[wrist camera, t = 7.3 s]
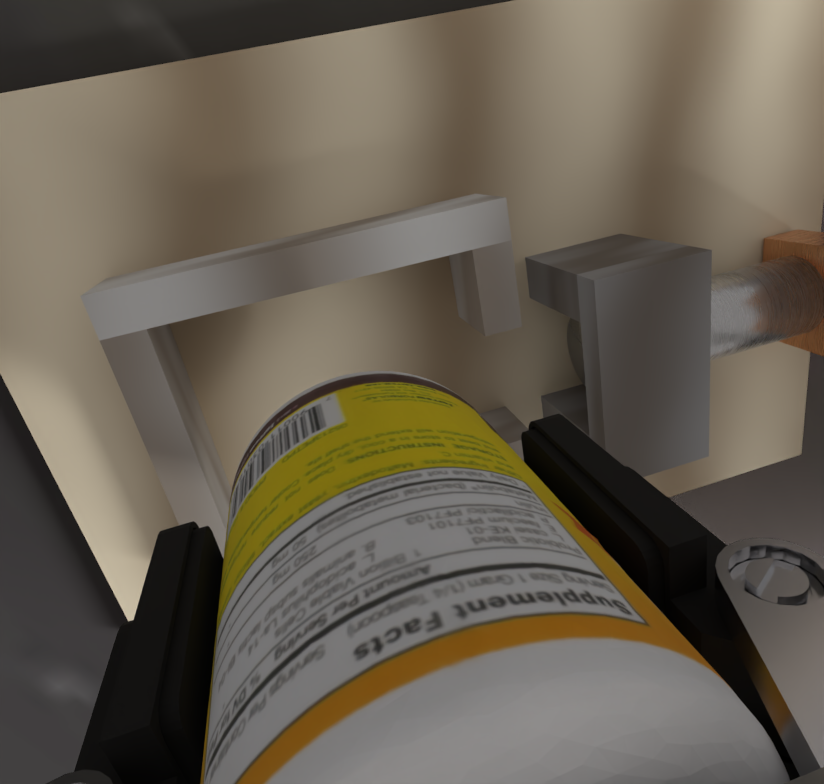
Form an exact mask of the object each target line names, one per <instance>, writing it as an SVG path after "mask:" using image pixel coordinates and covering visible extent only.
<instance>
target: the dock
mask: <svg viewBox="0 0 824 784" xmlns="http://www.w3.org/2000/svg"><path fill="white" fill-rule="evenodd" d="M823 201H824V0H513V1H508V2H502V3H497V4H491V5H486V6H480V7H475V8H469V9H464V10H458V11H453V12H447V13H441V14H436V15H430V16H425V17H419V18H414V19H408V20H403V21H397V22H392V23H386V24H381V25H375V26H370V27H364V28H359V29H353V30H348V31H342V32H337V33H331V34H325V35H320V36H314V37H309V38H303V39H298V40H292V41H287V42H281V43H276V44H270V45H265V46H259V47H254V48H248V49H243V50H237V51H232V52H226V53H221V54H215V55H210V56H204V57H198V58H193V59H187V60H182V61H176V62H171V63H165V64H160V65H154V66H149V67H143V68H138V69H132V70H127V71H121V72H116V73H110V74H105V75H99V76H94V77H88V78H83V79H77V80H71V81H66V82H60V83H55V84H49V85H44V86H38V87H33V88H27V89H22V90H16V91H11V92H5V93H0V374H1V376H2V378H3V380H4V382H5V384H6V386H7V388H8V390H9V392H10V393H11V395H12V397H13V399H14V401H15V403H16V405H17V407H18V409H19V411H20V413H21V415H22V417H23V419H24V421H25V422H26V424H27V426H28V428H29V430H30V432H31V434H32V436H33V438H34V440H35V442H36V444H37V446H38V448H39V450H40V451H41V453H42V455H43V457H44V459H45V461H46V463H47V465H48V467H49V469H50V471H51V473H52V475H53V477H54V479H55V481H56V482H57V484H58V486H59V488H60V490H61V492H62V494H63V496H64V498H65V500H66V502H67V504H68V506H69V508H70V510H71V511H72V513H73V515H74V517H75V519H76V521H77V523H78V525H79V527H80V529H81V531H82V533H83V535H84V537H85V539H86V540H87V542H88V544H89V546H90V548H91V550H92V552H93V554H94V556H95V558H96V560H97V562H98V564H99V566H100V568H101V569H102V571H103V573H104V575H105V577H106V579H107V581H108V583H109V585H110V587H111V589H112V591H113V593H114V595H115V597H116V598H117V600H118V602H119V604H120V606H121V608H122V610H123V612H124V614H125V616H126V618H127V620H128V621H132V620H134V616H135V613H136V609H137V606H138V602H139V599H140V596H141V592H142V589H143V585H144V582H145V578H146V575H147V571H148V568H149V564H150V561H151V557H152V554H153V550H154V547H155V543H156V540H157V536H158V534H159V532H160V531H162V530H165V529H169V528H172V527H175V526H179V525H182V524H185V523H189V522H192V521H194V522H196V523H197V525H198V526H199V528H201V527H205V526H209V527H210V528H211V530H212V532H213V534H214V537H215V539H216V542H217V544H218V547H219V549H220V552H221V554H222V557H223V559H224V550H225V541H226V531H227V522H228V513H229V504H230V498H231V492H232V486H233V482H234V479H235V475H236V472H237V469H238V466H239V463H240V461H241V458H242V456H243V454H244V452H245V450H246V448H247V447H248V445H249V443H250V441H251V440H252V438H253V437H254V435H255V434H256V433H257V431H258V430H259V429H260V427H261V426H262V425H263V424H264V423H265V421H266V420H267V419H268V418H269V417H270V416H271V415H272V414H273V413H274V412H276V411H277V410H278V409H279V408H280V407H281V406H282V405H284V404H285V403H286V402H288V401H289V400H291V399H292V398H293V397H295V396H297V395H298V394H300V393H301V392H303V391H305V390H307V389H309V388H311V387H313V386H315V385H317V384H319V383H322V382H324V381H327V380H329V379H333V378H336V377H339V376H343V375H347V374H352V373H358V372H367V371H394V372H402V373H408V374H412V375H416V376H420V377H423V378H426V379H429V380H431V381H434V382H436V383H438V384H440V385H442V386H444V387H446V388H448V389H450V390H451V391H453V392H454V393H456V394H458V395H459V396H460V397H462V398H463V399H464V400H465V401H466V402H468V403H469V404H470V405H471V406H473V407H474V408H475V409H476V410H477V411H478V412H479V413H480V414H481V415H482V416H483V418H484V419H485V420H486V421H487V422H488V423H489V424H490V425H491V426H492V427H493V428H494V429H495V430H496V432H497V433H498V434H499V435H500V436H501V437H502V438H503V439H504V440H505V441H506V443H507V444H508V445H509V446H510V447H511V448H512V449H513V450H514V451H515V453H516V454H517V455H518V456H519V457H520V458H521V459H522V460H523V461H524V456H523V449H522V441H521V434H522V432H524V431H528V428H529V423H530V422H531V421H534V420H538V419H541V418H545V417H548V416H551V415H555V414H561V415H563V416H564V417H565V418H566V419H568V420H569V421H570V422H571V423H572V424H574V425H575V426H576V427H577V428H578V429H580V430H581V431H582V432H583V433H585V434H586V435H587V436H588V437H589V438H591V439H592V440H593V441H594V442H595V443H597V444H598V445H599V446H600V447H602V448H603V449H604V450H605V451H606V452H608V453H609V454H610V455H611V456H613V457H614V458H615V459H616V460H617V461H619V462H620V463H621V464H622V465H623V466H628V467H630V468H631V469H633V470H635V471H636V472H637V473H638V474H639V475H641V476H642V477H643V478H644V479H646V480H647V481H648V482H649V483H651V484H652V485H653V486H654V487H656V488H657V489H658V490H659V491H660V492H662V493H663V494H664V495H665V496H667V497H668V498H669V497H672V496H675V495H678V494H681V493H684V492H687V491H690V490H693V489H696V488H699V487H702V486H706V485H709V484H712V483H715V482H718V481H721V480H724V479H727V478H730V477H733V476H736V475H739V474H743V473H746V472H749V471H752V470H755V469H758V468H761V467H764V466H767V465H770V464H773V463H776V462H780V461H783V460H786V459H789V458H792V457H795V456H798V455H801V452H802V441H803V430H804V418H805V407H806V395H807V384H808V373H809V361H810V352H809V351H806V350H803V349H800V348H797V347H794V346H791V345H788V344H785V343H782V342H779V341H777V342H774V343H770V344H767V345H763V346H760V347H756V348H753V349H749V350H746V351H743V352H739V353H736V354H732V355H729V356H725V357H722V358H718V359H715V360H712V361H710V345H711V276H713V275H717V274H721V273H724V272H728V271H732V270H736V269H739V268H743V267H747V266H751V265H754V264H758V263H762V262H763V246H764V238H766V237H770V236H774V235H778V234H781V233H785V232H789V231H793V230H797V229H798V230H807V231H816V232H821V224H822V213H823ZM570 318H572V319H574V320H576V321H578V322H580V323H581V335H582V347H583V360H584V372H585V385H586V386H585V385H584V384H583V383H582V382H581V380H580V379H579V377H578V375H577V373H576V371H575V369H574V367H573V364H572V361H571V358H570V354H569V350H568V343H567V328H568V323H569V320H570Z"/></svg>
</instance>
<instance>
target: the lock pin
mask: <svg viewBox="0 0 824 784" xmlns="http://www.w3.org/2000/svg"><path fill="white" fill-rule="evenodd" d="M777 341H779V342H782V343H785V344H788V345H791V346H794V347H797V348H800V349H803V350H806V351H809V352H812V353H815V354H818V355H821V356H824V232H816V231H807V230H798V229H797V230H793V231H789V232H785V233H781V234H778V235H774V236H770V237H766V238H764V246H763V262H762V263H758V264H754V265H751V266H747V267H743V268H739V269H736V270H732V271H728V272H724V273H721V274H717V275H713V276H711V345H710V361H712V360H715V359H718V358H722V357H725V356H729V355H732V354H736V353H739V352H743V351H746V350H749V349H753V348H756V347H760V346H763V345H767V344H770V343H774V342H777ZM567 343H568V350H569V354H570V358H571V361H572V364H573V367H574V369H575V371H576V373H577V375H578V377H579V379H580V380H581V382H582V383H583V384H584V385H585V372H584V360H583V347H582V335H581V323H580V322H578V321H576V320H574V319H572V318H570V320H569V323H568V328H567ZM585 386H586V385H585Z"/></svg>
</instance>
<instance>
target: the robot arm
mask: <svg viewBox="0 0 824 784" xmlns="http://www.w3.org/2000/svg"><path fill="white" fill-rule="evenodd" d="M521 441H522V449H523V456H524V462H525V463H526V465H527V466H528V467H529V468H530V469H531V470H532V471H533V472H534V473H535V474H536V475H537V476H538V477H539V478H540V480H541V481H542V482H543V483H544V484H545V485H546V486H547V487H548V488H549V489H550V491H551V492H552V493H553V494H554V495H555V496H556V497H557V498H558V499H559V501H560V502H561V503H562V504H563V505H564V506H565V507H566V508H567V509H568V510H569V511H570V512H571V513H572V515H573V516H574V517H575V518H576V519H577V520H578V521H579V522H580V523H581V525H582V526H583V527H584V528H585V529H586V530H587V531H588V532H589V533H590V534H591V535H593V536H594V537H595V538H597V539H598V541H599V543H600V544H601V546H602V547H603V548H604V550H605V551H606V552H607V553H608V554H609V555H610V556H611V557H612V558H613V559H614V560H615V561H616V562H617V563H618V564H619V565H620V567H621V568H622V569H623V570H624V571H625V573H626V574H627V575H628V576H629V577H630V578H631V580H632V581H633V582H634V583H635V584H636V585H637V586H638V587H639V588H640V589H641V590H642V591H643V592H644V593H645V595H646V596H647V597H648V598H649V599H650V600H651V601H652V602H653V603H654V604H655V605H656V606H657V608H658V609H659V610H660V611H661V612H662V613H663V614H664V615H665V616H666V618H667V619H668V620H669V621H670V622H671V623H672V624H673V625H674V626H675V627H676V629H677V630H678V631H679V632H680V633H681V634H682V635H683V636H684V637H685V638H686V639H687V640H688V642H689V643H690V644H691V645H692V646H693V647H694V648H695V649H696V650H697V651H698V652H699V654H700V655H701V656H702V657H703V658H704V659H705V660H706V661H707V662H708V663H709V664H710V665H711V667H712V668H713V669H714V670H715V671H716V672H717V673H718V674H719V675H720V676H721V677H722V679H723V680H724V681H725V682H726V683H727V684H728V685H729V686H730V688H731V689H732V690H733V691H734V693H735V694H736V695H737V696H738V698H739V699H740V700H741V701H742V702H743V704H744V705H745V706H746V707H747V708H748V709H749V711H750V712H751V713H752V714H753V715H754V717H755V718H756V719H757V720H758V721H759V723H760V724H761V725H762V726H763V728H764V729H765V731H766V733H767V734H768V736H769V737H770V739H771V740H772V742H773V744H774V746H775V748H776V750H777V752H778V754H779V756H780V758H781V760H782V762H783V764H784V766H785V768H786V771H787V773H788V775H789V779H790V781H789V782H786V783H784V784H824V557H823V556H821V555H819V554H817V553H816V552H814V551H812V550H810V549H809V548H806V547H803V546H801V545H798V544H795V543H792V542H789V541H784V540H778V539H773V538H750V539H745V540H740V541H736V542H734V543H732V544H730V545H728V546H727V545H726V544H724V543H723V542H722V541H721V540H720V539H718V538H717V537H716V536H715V535H713V534H712V533H711V532H710V531H708V530H707V529H706V528H705V527H704V526H702V525H701V524H700V523H699V522H697V521H696V520H695V519H694V518H692V517H691V516H690V515H689V514H688V513H686V512H685V511H684V510H683V509H681V508H680V507H679V506H678V505H676V504H675V503H674V502H673V501H672V500H670V499H669V498H668V497H667V496H665V495H664V494H663V493H662V492H660V491H659V490H658V489H657V488H656V487H654V486H653V485H652V484H651V483H649V482H648V481H647V480H646V479H644V478H643V477H642V476H641V475H639V474H638V473H637V472H636V471H635V470H633V469H631V468H630V467H628V466H623V465H622V464H621V463H620V462H619V461H617V460H616V459H615V458H614V457H613V456H611V455H610V454H609V453H608V452H606V451H605V450H604V449H603V448H602V447H600V446H599V445H598V444H597V443H595V442H594V441H593V440H592V439H591V438H589V437H588V436H587V435H586V434H585V433H583V432H582V431H581V430H580V429H578V428H577V427H576V426H575V425H574V424H572V423H571V422H570V421H569V420H568V419H566V418H565V417H564V416H563V415H561V414H555V415H551V416H548V417H545V418H541V419H538V420H534V421H531V422H530V423H529V428H528V431H524V432H522V434H521ZM223 560H224V559H223V557H222V554H221V552H220V549H219V547H218V544H217V542H216V539H215V537H214V534H213V532H212V530H211V528H210V527H209V526H205V527H201V528H199V526H198V525H197V523H196V522H194V521H192V522H189V523H185V524H182V525H179V526H175V527H172V528H169V529H165V530H162V531H160V532H159V534H158V536H157V540H156V543H155V547H154V550H153V554H152V557H151V561H150V564H149V568H148V571H147V575H146V578H145V582H144V585H143V589H142V592H141V596H140V599H139V602H138V606H137V609H136V613H135V616H134V620H132V621H128V622H125V623H124V624H123V625H122V626H121V627H120V629H119V631H118V633H117V636H116V640H115V643H114V646H113V649H112V652H111V655H110V659H109V662H108V665H107V668H106V671H105V675H104V678H103V681H102V684H101V687H100V691H99V694H98V697H97V700H96V703H95V707H94V710H93V713H92V716H91V719H90V723H89V726H88V729H87V732H86V735H85V739H84V742H83V745H82V748H81V751H80V755H79V758H78V761H77V764H76V767H75V771H74V772H72V773H67V774H64V775H62V776H60V777H58V778H56V779H54V780H52V781H50V782H48V783H46V784H200V782H201V772H202V762H203V752H204V742H205V732H206V723H207V713H208V704H209V695H210V687H211V678H212V667H213V656H214V645H215V637H216V629H217V615H218V608H219V598H220V588H221V579H222V569H223Z"/></svg>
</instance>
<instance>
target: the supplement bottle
mask: <svg viewBox="0 0 824 784" xmlns="http://www.w3.org/2000/svg"><path fill="white" fill-rule="evenodd" d="M789 781H790V779H789V775H788V773H787V771H786V768H785V766H784V764H783V762H782V760H781V758H780V756H779V754H778V752H777V750H776V748H775V746H774V744H773V742H772V740H771V739H770V737H769V736H768V734H767V733H766V731H765V729H764V728H763V726H762V725H761V724H760V723H759V721H758V720H757V719H756V718H755V717H754V715H753V714H752V713H751V712H750V711H749V709H748V708H747V707H746V706H745V705H744V704H743V702H742V701H741V700H740V699H739V698H738V696H737V695H736V694H735V693H734V691H733V690H732V689H731V688H730V686H729V685H728V684H727V683H726V682H725V681H724V680H723V679H722V677H721V676H720V675H719V674H718V673H717V672H716V671H715V670H714V669H713V668H712V667H711V665H710V664H709V663H708V662H707V661H706V660H705V659H704V658H703V657H702V656H701V655H700V654H699V652H698V651H697V650H696V649H695V648H694V647H693V646H692V645H691V644H690V643H689V642H688V640H687V639H686V638H685V637H684V636H683V635H682V634H681V633H680V632H679V631H678V630H677V629H676V627H675V626H674V625H673V624H672V623H671V622H670V621H669V620H668V619H667V618H666V616H665V615H664V614H663V613H662V612H661V611H660V610H659V609H658V608H657V606H656V605H655V604H654V603H653V602H652V601H651V600H650V599H649V598H648V597H647V596H646V595H645V593H644V592H643V591H642V590H641V589H640V588H639V587H638V586H637V585H636V584H635V583H634V582H633V581H632V580H631V578H630V577H629V576H628V575H627V574H626V573H625V571H624V570H623V569H622V568H621V567H620V565H619V564H618V563H617V562H616V561H615V560H614V559H613V558H612V557H611V556H610V555H609V554H608V553H607V552H606V551H605V550H604V548H603V547H602V546H601V544H600V543H599V541H598V539H597V538H595V537H594V536H593V535H591V534H590V533H589V532H588V531H587V530H586V529H585V528H584V527H583V526H582V525H581V523H580V522H579V521H578V520H577V519H576V518H575V517H574V516H573V515H572V513H571V512H570V511H569V510H568V509H567V508H566V507H565V506H564V505H563V504H562V503H561V502H560V501H559V499H558V498H557V497H556V496H555V495H554V494H553V493H552V492H551V491H550V489H549V488H548V487H547V486H546V485H545V484H544V483H543V482H542V481H541V480H540V478H539V477H538V476H537V475H536V474H535V473H534V472H533V471H532V470H531V469H530V468H529V467H528V466H527V465H526V463H525V462H524V461H523V460H522V459H521V458H520V457H519V456H518V455H517V454H516V453H515V451H514V450H513V449H512V448H511V447H510V446H509V445H508V444H507V443H506V441H505V440H504V439H503V438H502V437H501V436H500V435H499V434H498V433H497V432H496V430H495V429H494V428H493V427H492V426H491V425H490V424H489V423H488V422H487V421H486V420H485V419H484V418H483V416H482V415H481V414H480V413H479V412H478V411H477V410H476V409H475V408H474V407H473V406H471V405H470V404H469V403H468V402H466V401H465V400H464V399H463V398H462V397H460V396H459V395H458V394H456V393H454V392H453V391H451V390H450V389H448V388H446V387H444V386H442V385H440V384H438V383H436V382H434V381H431V380H429V379H426V378H423V377H420V376H416V375H412V374H408V373H402V372H394V371H367V372H358V373H352V374H347V375H343V376H339V377H336V378H333V379H329V380H327V381H324V382H322V383H319V384H317V385H315V386H313V387H311V388H309V389H307V390H305V391H303V392H301V393H300V394H298V395H297V396H295V397H293V398H292V399H291V400H289V401H288V402H286V403H285V404H284V405H282V406H281V407H280V408H279V409H278V410H277V411H276V412H274V413H273V414H272V415H271V416H270V417H269V418H268V419H267V420H266V421H265V423H264V424H263V425H262V426H261V427H260V429H259V430H258V431H257V433H256V434H255V435H254V437H253V438H252V440H251V441H250V443H249V445H248V447H247V448H246V450H245V452H244V454H243V456H242V458H241V461H240V463H239V466H238V469H237V472H236V475H235V479H234V482H233V486H232V492H231V498H230V504H229V513H228V522H227V531H226V541H225V550H224V560H223V569H222V579H221V588H220V598H219V608H218V615H217V629H216V637H215V645H214V656H213V667H212V678H211V687H210V695H209V704H208V713H207V723H206V732H205V742H204V752H203V762H202V772H201V782H200V784H784V783H786V782H789Z"/></svg>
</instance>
